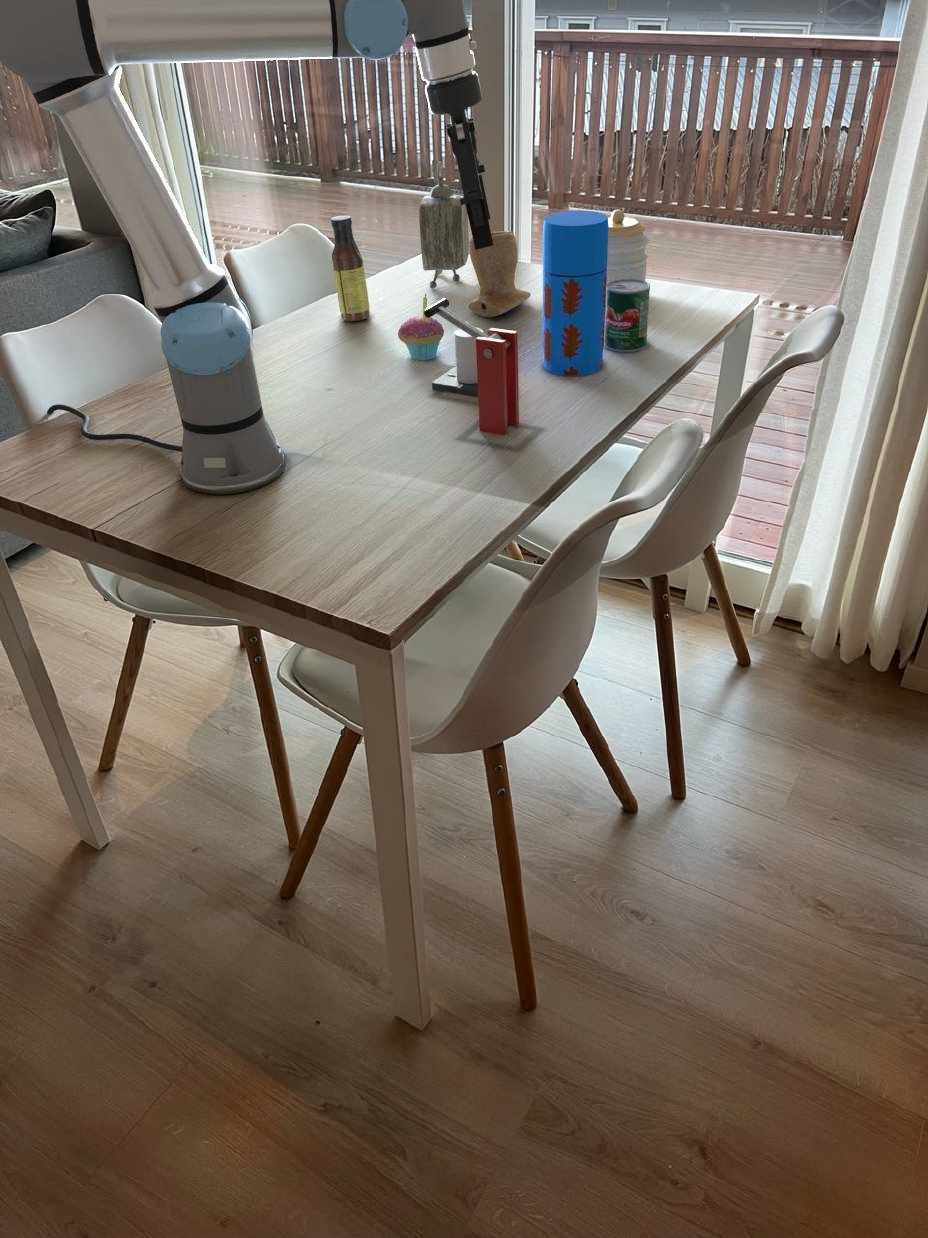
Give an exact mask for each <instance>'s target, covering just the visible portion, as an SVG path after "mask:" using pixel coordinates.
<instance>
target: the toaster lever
mask: <svg viewBox="0 0 928 1238" xmlns="http://www.w3.org/2000/svg"><path fill="white" fill-rule="evenodd" d="M449 306H450V300H449V299H448V298H442V299H441V300H439V301H437V302H436V303H434V304H432V305H430V306H429V307H427V309H425V311H424V315H425V317H427V318H430V317H431V318H433V317H434V316H436V315H438V316H439V317H441V318H443V319H444V320H446V321H448V322H449V323H450V324H452V325H453V326H455V327H456V328H458V329H461V330H463V331H464V332H466V333H468V334H469V335H471V336H472V337H474V338H475V339H476V338H478V337H485V338H492V339H499V340H505V343H506V353H507V351H508V349H509V346H510V344H511V343H510V342H509V341H507V340H506V339H504V338H503V337H501V336H499V335H498V334H496V333H495V334H494V335H492V336H491V337H490V336H489V334H487V333H485V332H484V333H483V332H482V331H480V330H479V329H477V328H478V327H476V326H474V325H472V324H471V323H469V322H468V321H467V320H465V319H464V318H462V317H460V316H459V315H457V314H455V313H454V312H453V311H451V310H449V309H448V307H449Z"/></svg>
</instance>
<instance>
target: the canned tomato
mask: <svg viewBox="0 0 928 1238" xmlns="http://www.w3.org/2000/svg"><path fill="white" fill-rule="evenodd" d="M650 289H651V284H650V283H649V282H648V281H646V280H645V281H642V280H636V279H621V280H615V281H611V282H609V283H608V284H607V285H606V307H605V332H604V347H605V348H606V349H607V350H609V351H612V352H618V353H634V352H638V351H641V350H644V349H645V348H646V347H647V344H648V343H647V341H648V340H647V339H648V338H647V337H648V326H649V325H648V323H649V311H650V309H649V307H650V291H651V290H650Z"/></svg>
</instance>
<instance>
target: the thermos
mask: <svg viewBox="0 0 928 1238" xmlns="http://www.w3.org/2000/svg"><path fill="white" fill-rule="evenodd" d="M608 218H609V216H608V215H607V214H606V213H602V212H599V211H592V210H566V211H559V212H555V213H550V214H548V215H547V216H545V217H544V218H543V226H542V357H543V368H544V370H546V371H547V372H549V373H551V374H554V375H558V376H563V377H564V376H566V377H580V376H587V375H591V374H594V373H597V372H598V371H599V370H601V369H602V366H603V358H604V347H605V346H604V342H605V312H606V282H607V257H608V233H609V225H608Z"/></svg>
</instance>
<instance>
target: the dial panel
mask: <svg viewBox="0 0 928 1238" xmlns="http://www.w3.org/2000/svg"><path fill="white" fill-rule="evenodd" d="M431 390H432V391H439V392H444V393H450V394H455V395H462V396H469V397H473V398H478V383H475V384H465V383H461V382H459V381H458V380H457V368H456V366H453V367H452V368H450V369H449V370H448V371H446V372H445V373H443V374H442V375H440V376H439V377H437V378H436V379H435V380H433V381H431Z"/></svg>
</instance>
